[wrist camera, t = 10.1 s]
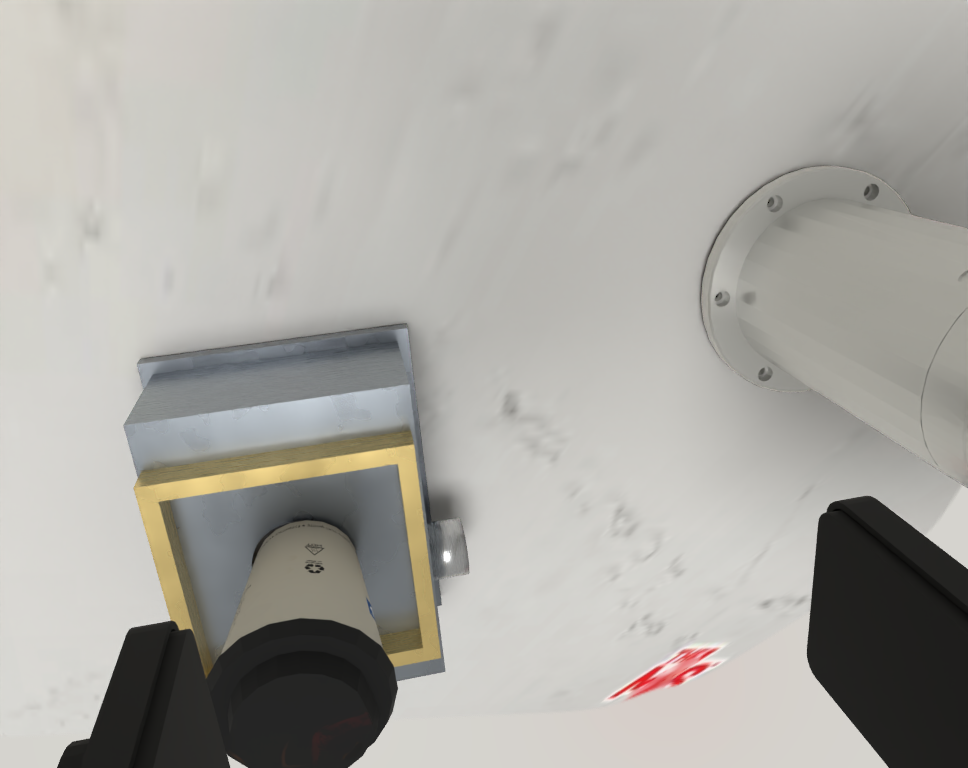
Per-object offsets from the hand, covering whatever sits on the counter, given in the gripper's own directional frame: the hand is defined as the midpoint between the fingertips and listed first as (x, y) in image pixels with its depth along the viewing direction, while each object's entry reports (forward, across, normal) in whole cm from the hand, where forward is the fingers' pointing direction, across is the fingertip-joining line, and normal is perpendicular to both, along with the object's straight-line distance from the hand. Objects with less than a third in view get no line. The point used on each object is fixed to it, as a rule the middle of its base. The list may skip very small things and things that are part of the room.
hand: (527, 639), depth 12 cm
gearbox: (+30, +6, +13) cm, 34 cm away
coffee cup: (+23, +6, +13) cm, 27 cm away
